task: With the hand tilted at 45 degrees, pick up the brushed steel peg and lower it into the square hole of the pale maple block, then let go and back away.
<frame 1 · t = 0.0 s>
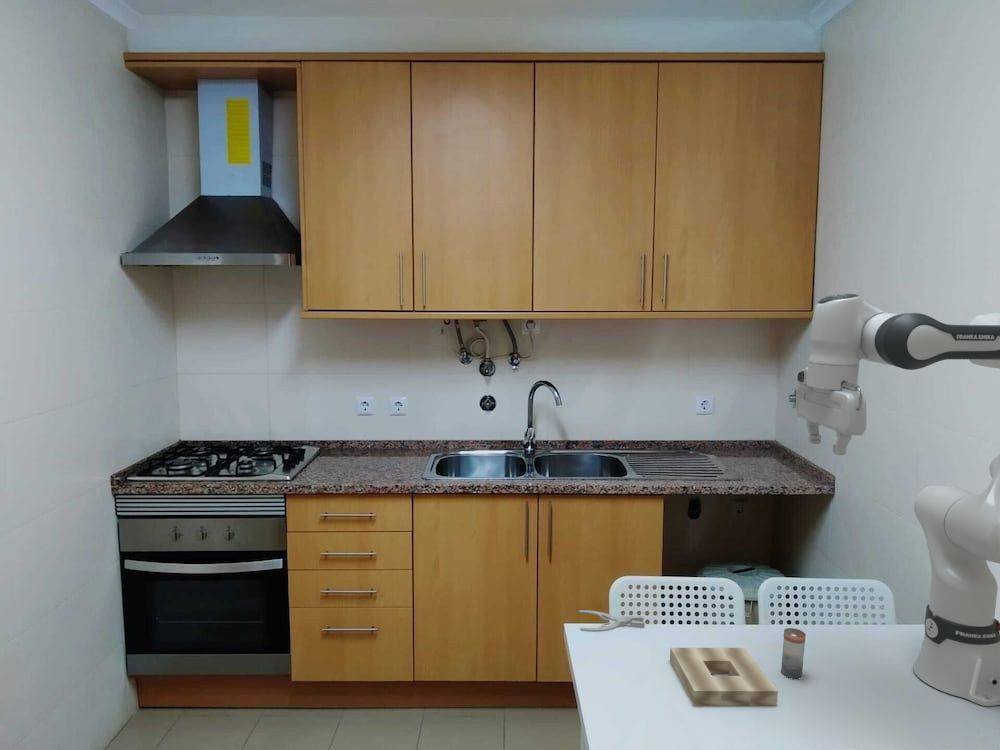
hand: (826, 448, 135), 48 cm above the table, tool pointing down, fingers open, 8 cm apart
steel peg: (791, 674, 143), on the table
pliers: (611, 624, 163), on the table
hitch block: (720, 682, 139), on the table
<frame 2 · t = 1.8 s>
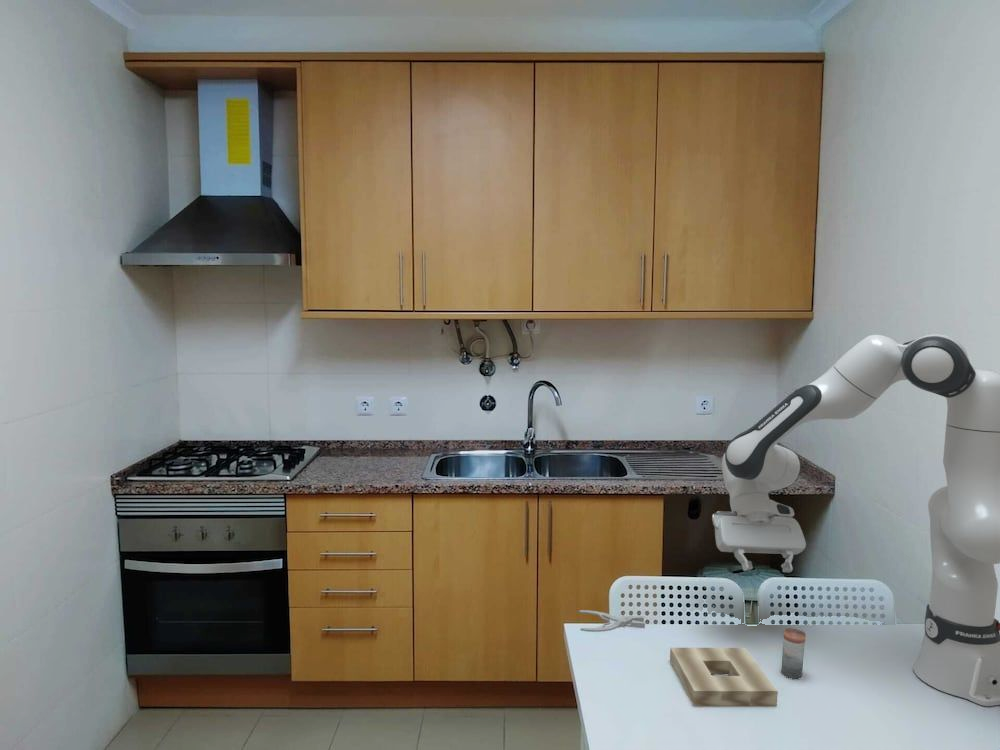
hand: (768, 570, 152), 18 cm above the table, tool tilted 45°, fingers open, 8 cm apart
nothing on the table moved.
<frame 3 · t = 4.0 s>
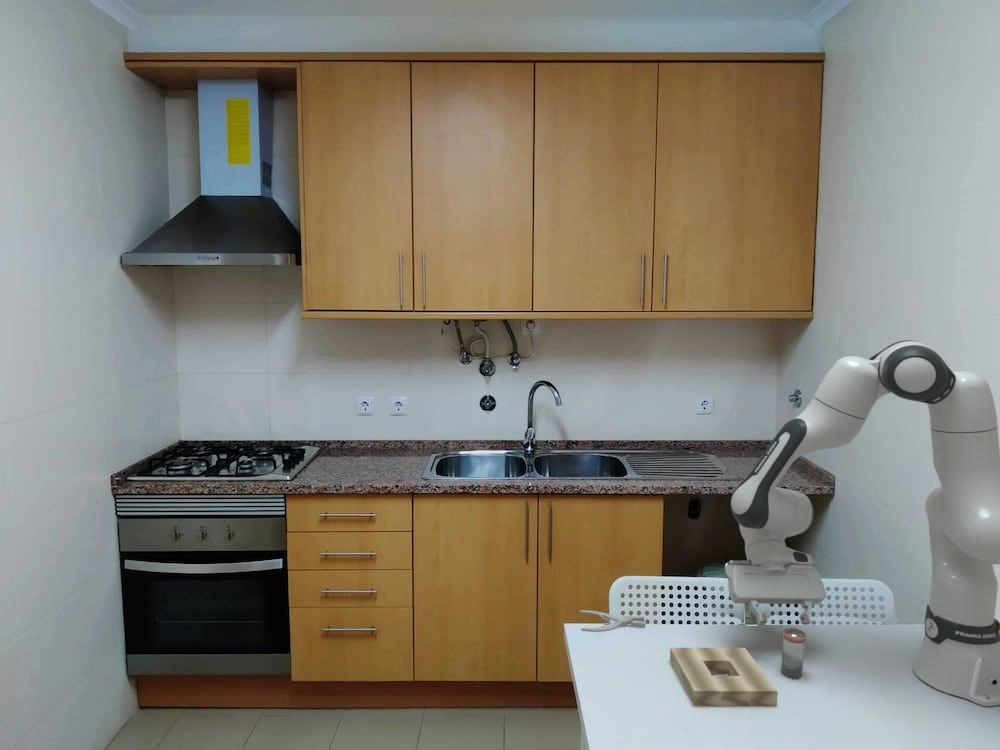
hand: (784, 623, 146), 9 cm above the table, tool tilted 45°, fingers open, 8 cm apart
nothing on the table moved.
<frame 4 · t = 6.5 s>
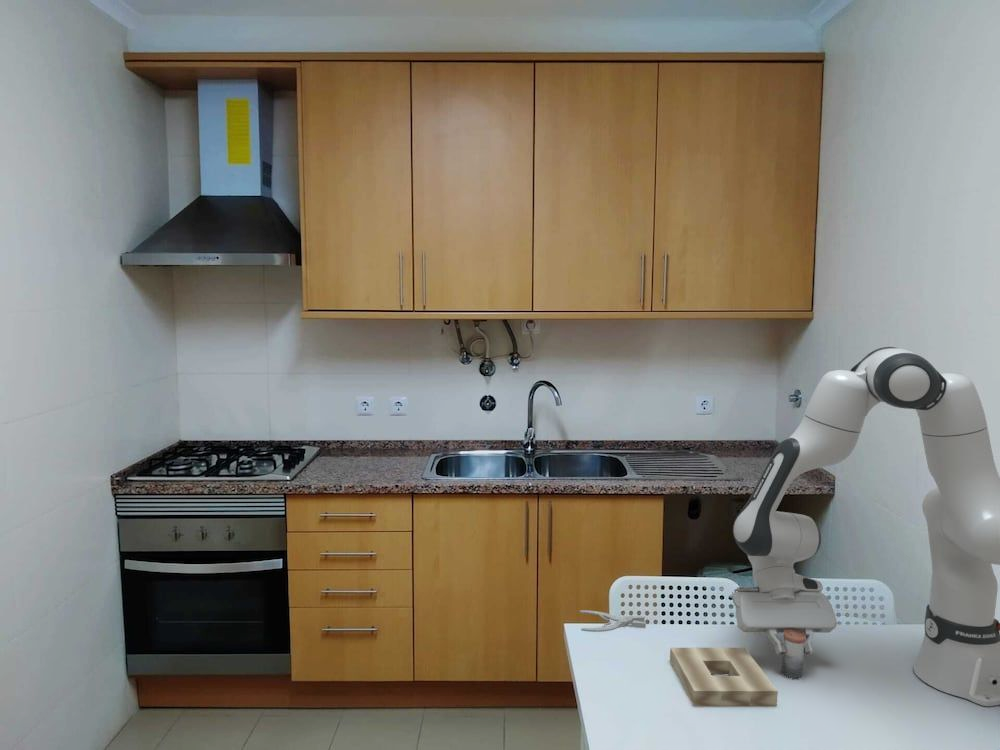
hand: (794, 653, 141), 5 cm above the table, tool tilted 45°, fingers closed on steel peg, 4 cm apart
steel peg: (791, 674, 143), on the table, touching gripper
everything else where it was.
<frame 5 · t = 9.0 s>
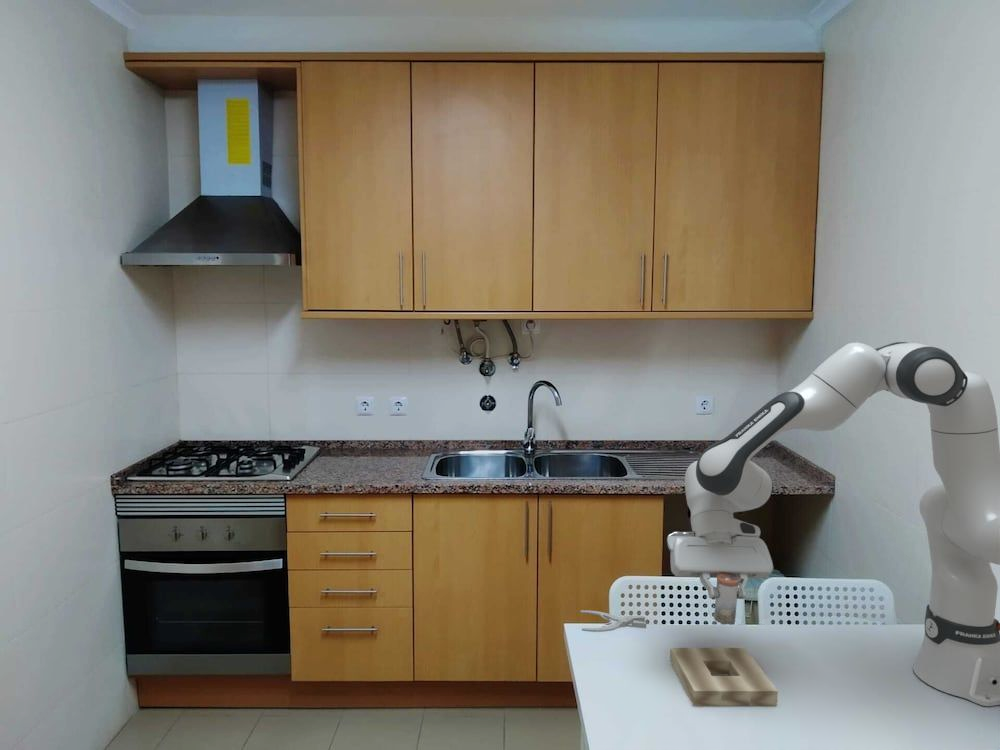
hand: (727, 597, 136), 18 cm above the table, tool tilted 45°, fingers closed on steel peg, 4 cm apart
steel peg: (724, 619, 138), point 13 cm above the table, touching gripper
everything else where it was.
when the fingers open (7 cm above the table, at t = 11.8 s): steel peg drops 2 cm, resting in hitch block.
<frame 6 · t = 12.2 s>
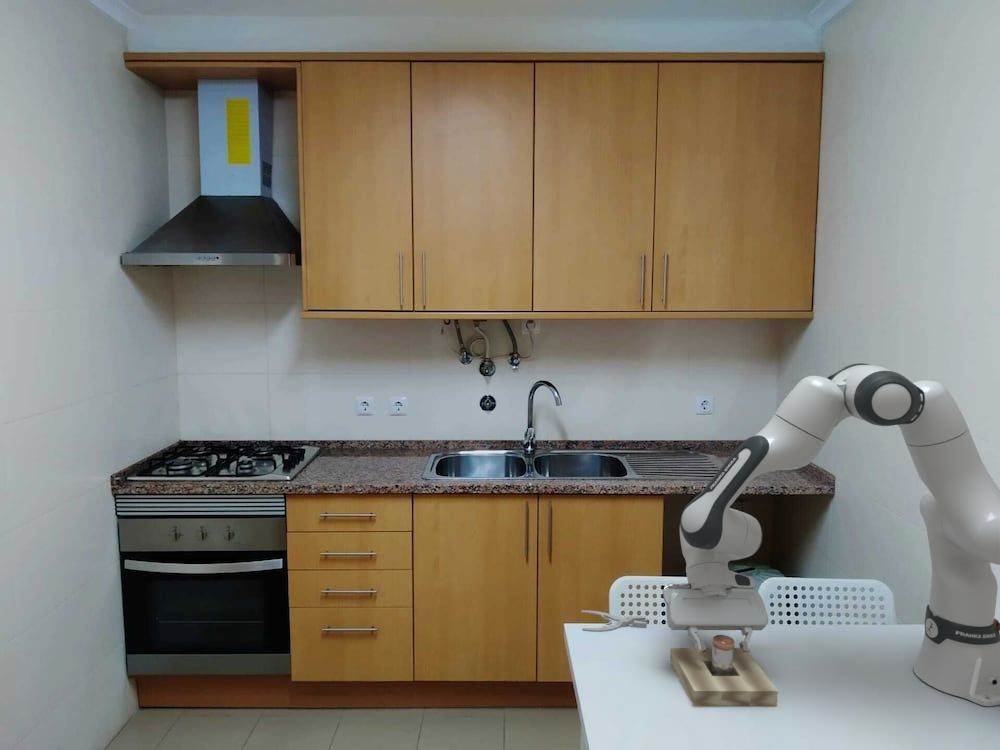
hand: (723, 651, 138), 7 cm above the table, tool tilted 45°, fingers open, 8 cm apart
steel peg: (720, 682, 139), resting in hitch block
everything else where it was.
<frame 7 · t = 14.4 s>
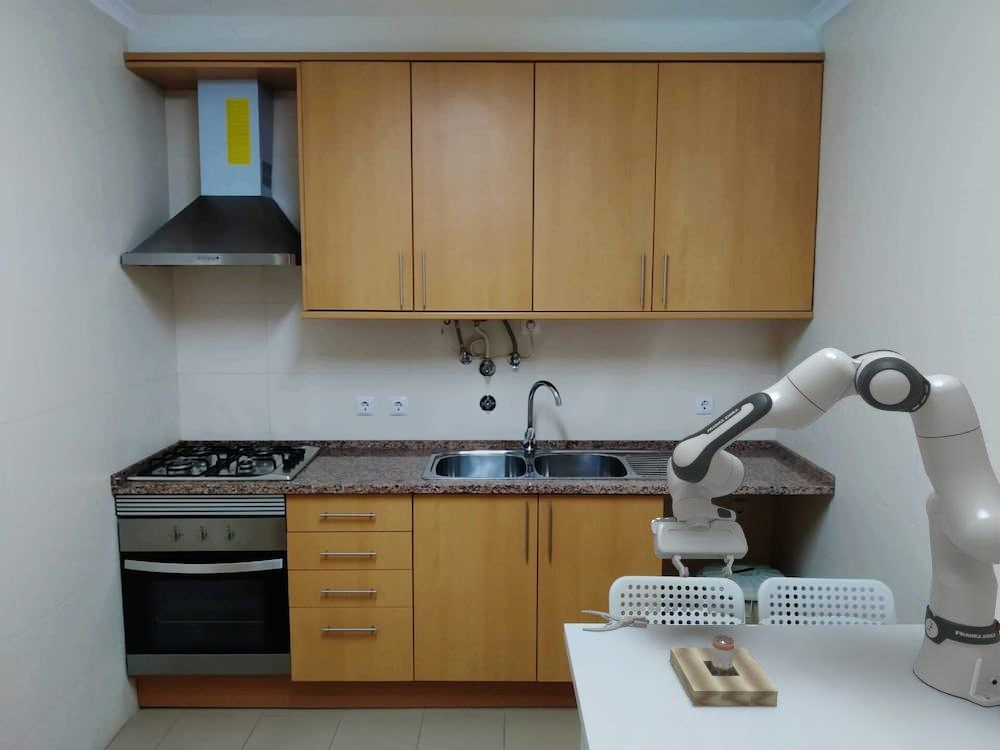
hand: (706, 576, 149), 17 cm above the table, tool tilted 45°, fingers open, 8 cm apart
nothing on the table moved.
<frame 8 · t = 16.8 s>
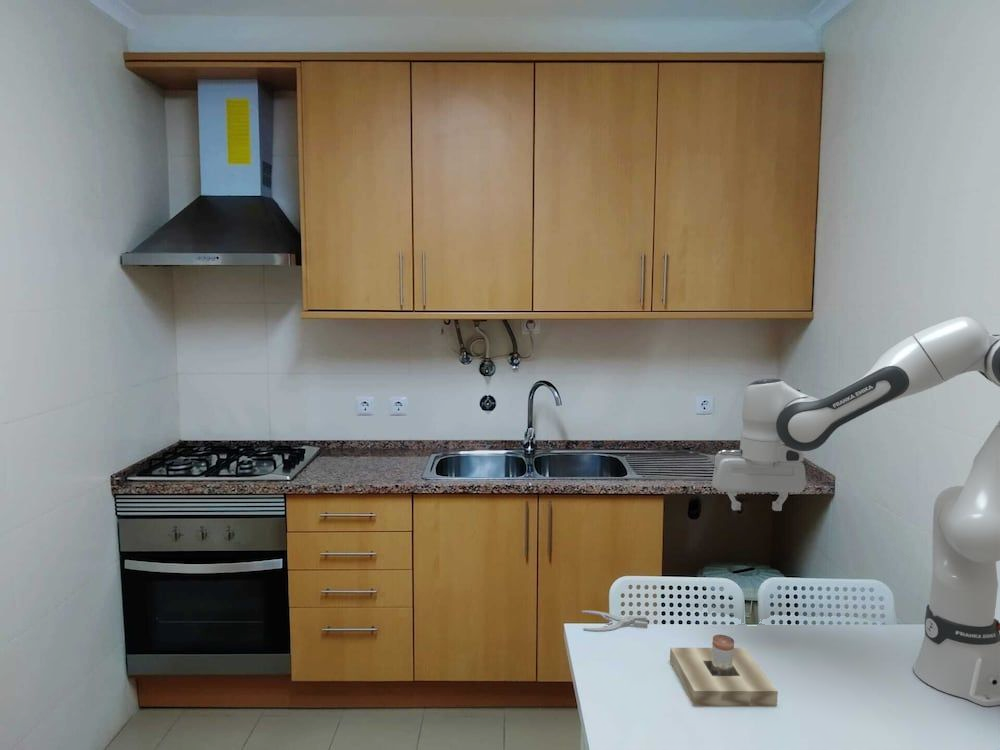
hand: (756, 510, 157), 29 cm above the table, tool pointing down, fingers open, 8 cm apart
nothing on the table moved.
at the end: steel peg 0.1 cm off-centre on the hitch block, point 0.0 cm above the hitch block's base; steel peg tilted 0°; the gripper is holding nothing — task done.
